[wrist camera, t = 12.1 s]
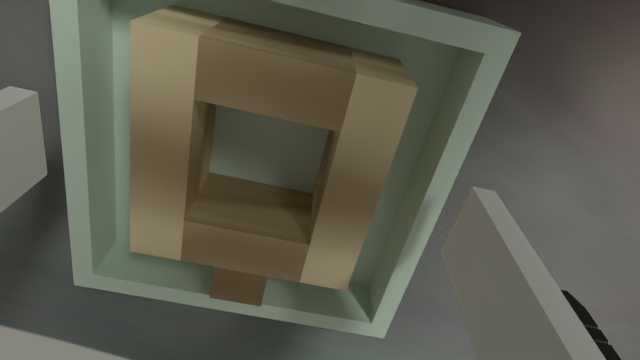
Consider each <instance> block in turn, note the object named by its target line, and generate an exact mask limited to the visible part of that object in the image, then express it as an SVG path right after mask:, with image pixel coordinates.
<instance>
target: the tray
mask: <svg viewBox="0 0 640 360" xmlns="http://www.w3.org/2000/svg"><path fill="white" fill-rule="evenodd" d="M173 4H174V5H178V6H182V7H186V8H190V9H194V10H199V11H203V12H207V13H211V14H215V15H219V16H223V17H228V18H232V19H236V20H240V21H244V22H248V23H252V24H257V25H261V26H265V27H269V28H273V29H277V30H281V31H286V32H290V33H294V34H298V35H302V36H306V37H310V38H314V39H319V40H323V41H327V42H331V43H335V44H339V45H343V46H348V47H352V48H356V49H360V50H364V51H368V52H372V53H377V54H381V55H385V56H389V57H393V58H397V59H400V61H401V62H402V64H403V65H404V67H405V68H406V70H407V72H408V73H409V75H410V76H411V78H412V79H413V81H414V83H415V84H416V86H417V87H418V90H417V93H416V96H415V99H414V101H413V104H412V107H411V110H410V113H409V116H408V118H407V121H406V124H405V127H404V130H403V132H402V135H401V138H400V141H399V144H398V146H397V149H396V152H395V155H394V158H393V161H392V163H391V166H390V169H389V172H388V175H387V177H386V180H385V183H384V186H383V189H382V192H381V194H380V197H379V200H378V203H377V206H376V208H375V211H374V214H373V217H372V220H371V223H370V225H369V228H368V231H367V234H366V237H365V239H364V242H363V245H362V248H361V251H360V254H359V256H358V259H357V262H356V265H355V268H354V270H353V273H352V276H351V279H350V282H349V285H348V287H347V290H346V291H344V290H339V289H333V288H328V287H322V286H317V285H312V284H306V283H301V282H295V281H290V280H284V279H279V278H273V277H267V282H266V286H265V291H264V295H263V300H262V304H261V307H260V306H254V305H248V304H243V303H237V302H231V301H225V300H220V299H214V298H210V290H211V283H212V275H213V268H214V267H213V266H207V265H202V264H197V263H191V262H186V261H180V260H175V259H169V258H164V257H158V256H153V255H147V254H142V253H136V252H131V251H130V21H131V20H133V19H136V18H139V17H141V16H144V15H147V14H149V13H152V12H155V11H157V10H160V9H163V8H165V7H168V6H171V5H173ZM49 5H50V16H51V28H52V39H53V51H54V62H55V73H56V85H57V96H58V108H59V119H60V130H61V142H62V153H63V165H64V176H65V188H66V199H67V210H68V222H69V233H70V245H71V256H72V268H73V279H74V285H77V286H82V287H88V288H94V289H100V290H105V291H111V292H117V293H123V294H129V295H134V296H140V297H146V298H152V299H158V300H163V301H169V302H175V303H181V304H187V305H192V306H198V307H204V308H210V309H216V310H221V311H227V312H233V313H239V314H244V315H250V316H256V317H262V318H268V319H273V320H279V321H285V322H291V323H297V324H302V325H308V326H314V327H320V328H326V329H331V330H337V331H343V332H349V333H355V334H360V335H366V336H372V337H378V338H383V339H384V337H385V334H386V332H387V330H388V328H389V326H390V323H391V321H392V319H393V317H394V315H395V312H396V310H397V308H398V306H399V303H400V301H401V299H402V297H403V295H404V292H405V290H406V288H407V286H408V284H409V281H410V279H411V277H412V275H413V272H414V270H415V268H416V266H417V264H418V261H419V259H420V257H421V255H422V252H423V250H424V248H425V246H426V244H427V241H428V239H429V237H430V235H431V233H432V230H433V228H434V226H435V224H436V221H437V219H438V217H439V215H440V213H441V210H442V208H443V206H444V204H445V201H446V199H447V197H448V195H449V193H450V190H451V188H452V186H453V184H454V182H455V179H456V177H457V175H458V173H459V170H460V168H461V166H462V164H463V162H464V159H465V157H466V155H467V153H468V150H469V148H470V146H471V144H472V142H473V139H474V137H475V135H476V133H477V131H478V128H479V126H480V124H481V122H482V119H483V117H484V115H485V113H486V111H487V108H488V106H489V104H490V102H491V99H492V97H493V95H494V93H495V91H496V88H497V86H498V84H499V82H500V80H501V77H502V75H503V73H504V71H505V68H506V66H507V64H508V62H509V60H510V57H511V55H512V53H513V51H514V48H515V46H516V44H517V42H518V40H519V37H520V35H521V32H518V31H516V30H514V29H512V28H509V27H507V26H505V25H503V24H500V23H498V22H496V21H494V20H491V19H489V18H487V17H483V16H479V15H475V14H471V13H467V12H463V11H459V10H456V9H452V8H448V7H444V6H440V5H436V4H432V3H428V2H424V1H421V0H49ZM328 133H329V129H325V128H320V127H316V126H311V125H306V124H302V123H297V122H293V121H288V120H284V119H279V118H275V117H270V116H266V115H261V114H257V113H252V112H248V111H243V110H238V109H234V108H229V107H225V106H220V105H217V107H216V116H215V125H214V134H213V143H212V153H211V162H210V171H209V172H211V173H216V174H221V175H226V176H231V177H236V178H240V179H245V180H250V181H255V182H260V183H265V184H270V185H275V186H280V187H284V188H289V189H294V190H299V191H304V192H309V193H313V191H314V187H315V183H316V179H317V175H318V171H319V168H320V164H321V160H322V156H323V152H324V148H325V144H326V141H327V137H328Z"/></svg>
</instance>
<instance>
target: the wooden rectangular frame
mask: <svg viewBox="0 0 640 360" xmlns="http://www.w3.org/2000/svg"><path fill="white" fill-rule="evenodd" d="M417 90H418V87H417V86H416V84H415V83H414V81H413V79H412V78H411V76H410V75H409V73H408V72H407V70H406V68H405V67H404V65H403V64H402V62H401V61H400V59H397V58H393V57H389V56H385V55H381V54H377V53H372V52H368V51H364V50H360V49H356V48H352V47H348V46H343V45H339V44H335V43H331V42H327V41H323V40H319V39H314V38H310V37H306V36H302V35H298V34H294V33H290V32H286V31H281V30H277V29H273V28H269V27H265V26H261V25H257V24H252V23H248V22H244V21H240V20H236V19H232V18H228V17H223V16H219V15H215V14H211V13H207V12H203V11H199V10H194V9H190V8H186V7H182V6H178V5H174V4H173V5H171V6H168V7H165V8H163V9H160V10H157V11H155V12H152V13H149V14H147V15H144V16H141V17H139V18H136V19H133V20H131V21H130V251H131V252H136V253H142V254H147V255H153V256H158V257H164V258H169V259H175V260H180V261H186V262H191V263H197V264H202V265H207V266H213V267H214V268H213V275H212V283H211V290H210V298H214V299H220V300H225V301H231V302H237V303H243V304H248V305H254V306H260V307H261V304H262V300H263V295H264V291H265V286H266V282H267V277H273V278H279V279H284V280H290V281H295V282H301V283H306V284H312V285H317V286H322V287H328V288H333V289H339V290H344V291H346V290H347V287H348V285H349V282H350V279H351V276H352V273H353V270H354V268H355V265H356V262H357V259H358V256H359V254H360V251H361V248H362V245H363V242H364V239H365V237H366V234H367V231H368V228H369V225H370V223H371V220H372V217H373V214H374V211H375V208H376V206H377V203H378V200H379V197H380V194H381V192H382V189H383V186H384V183H385V180H386V177H387V175H388V172H389V169H390V166H391V163H392V161H393V158H394V155H395V152H396V149H397V146H398V144H399V141H400V138H401V135H402V132H403V130H404V127H405V124H406V121H407V118H408V116H409V113H410V110H411V107H412V104H413V101H414V99H415V96H416V93H417ZM217 105H220V106H225V107H229V108H234V109H238V110H243V111H248V112H252V113H257V114H261V115H266V116H270V117H275V118H279V119H284V120H288V121H293V122H297V123H302V124H306V125H311V126H316V127H320V128H325V129H329V133H328V137H327V141H326V144H325V148H324V152H323V156H322V160H321V164H320V168H319V171H318V175H317V179H316V183H315V187H314V191H313V193H309V192H304V191H299V190H294V189H289V188H284V187H280V186H275V185H270V184H265V183H260V182H255V181H250V180H245V179H240V178H236V177H231V176H226V175H221V174H216V173H211V172H209V171H210V162H211V153H212V143H213V134H214V125H215V116H216V107H217Z"/></svg>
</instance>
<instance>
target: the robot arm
mask: <svg viewBox="0 0 640 360" xmlns="http://www.w3.org/2000/svg"><path fill="white" fill-rule="evenodd" d="M47 174H48V173H47V165H46V156H45V148H44V139H43V131H42V122H41V114H40V105H39V97H38V92H35V91H31V90H26V89H22V88H17V87H12V86H9V87H6V88H4V89H2V90H0V213H1V212H2V211H4V210H5V209H6V208H7V207H8V206H10V205H11V204H12V203H13V202H15V201H16V200H17V199H18V198H19V197H21V196H22V195H23V194H24V193H26V192H27V191H28V190H29V189H30V188H32V187H33V186H34V185H35V184H37V183H38V182H39V181H40V180H41V179H43V178H44V177H45V176H46V175H47ZM440 254H441V257H442V260H443V263H444V265H445V268H446V271H447V274H448V277H449V280H450V282H451V285H452V288H453V291H454V294H455V297H456V300H457V302H458V305H459V308H460V311H461V314H462V317H463V319H464V322H465V325H466V328H467V331H468V334H469V337H470V339H471V342H472V345H473V348H474V351H475V354H476V356H477V359H478V360H621V359H620V357H619V356H618V354H617V353H616V352H615V350H614V349H613V347H612V346H611V345H608V340H607V339H606V337H605V336H604V334H603V333H602V331H601V330H599V329H597V327H598V326H597V324H596V323H595V321H594V320H593V318H592V317H591V316H590V314H589V313H588V311H587V310H586V308H585V307H584V306H582V305H581V304H580V303H579V302H578V301H577V300H576V299H575V298H574V297H573V296H572V295H571V294H570V293H569V292H567V291H564V290H560V289H559V287H558V286H557V284H556V283H555V281H554V280H553V278H552V277H551V275H550V274H549V272H548V271H547V269H546V268H545V266H544V265H543V263H542V262H541V260H540V258H539V257H538V255H537V254H536V252H535V251H534V249H533V248H532V246H531V245H530V243H529V242H528V240H527V239H526V237H525V236H524V234H523V233H522V231H521V230H520V228H519V227H518V225H517V224H516V222H515V221H514V219H513V217H512V216H511V214H510V213H509V211H508V210H507V208H506V207H505V205H504V204H503V202H502V201H501V199H500V198H499V196H498V195H497V193H496V192H495V191H492V190H488V189H483V188H479V187H474V186H472V188H471V190H470V192H469V194H468V196H467V198H466V200H465V202H464V204H463V206H462V208H461V210H460V212H459V214H458V217H457V219H456V221H455V223H454V225H453V227H452V229H451V231H450V233H449V235H448V237H447V239H446V241H445V243H444V245H443V247H442V250H441V252H440Z"/></svg>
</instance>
